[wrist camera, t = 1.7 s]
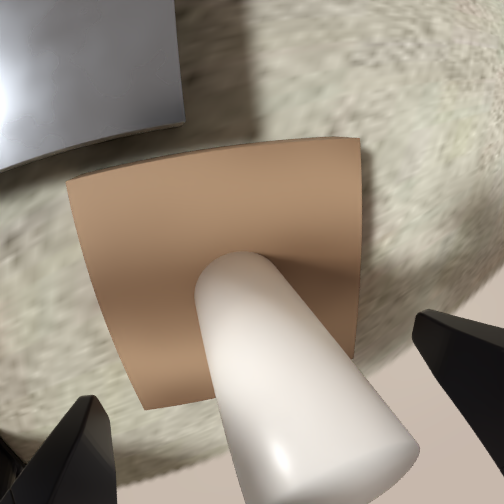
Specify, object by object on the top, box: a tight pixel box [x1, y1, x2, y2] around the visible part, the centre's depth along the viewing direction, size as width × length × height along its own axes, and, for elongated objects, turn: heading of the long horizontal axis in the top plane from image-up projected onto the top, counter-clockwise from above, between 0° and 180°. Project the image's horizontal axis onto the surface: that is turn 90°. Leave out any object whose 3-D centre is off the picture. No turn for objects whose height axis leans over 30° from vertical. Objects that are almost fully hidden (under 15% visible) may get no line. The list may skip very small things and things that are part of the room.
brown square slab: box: [66, 137, 362, 410], centre depth 12 cm, size 10×10×2 cm
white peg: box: [194, 251, 420, 504], centre depth 8 cm, size 3×3×8 cm
